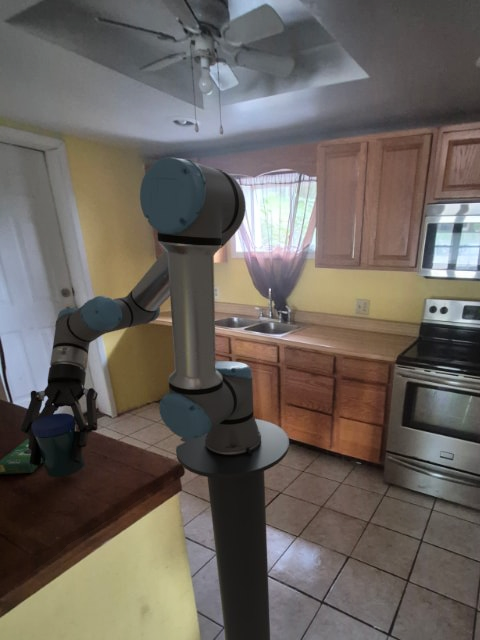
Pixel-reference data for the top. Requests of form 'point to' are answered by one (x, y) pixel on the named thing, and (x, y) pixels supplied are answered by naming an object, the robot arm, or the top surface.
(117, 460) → the top surface
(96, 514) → the top surface
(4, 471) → the coffee box
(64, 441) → the jar
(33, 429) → the jar lid
